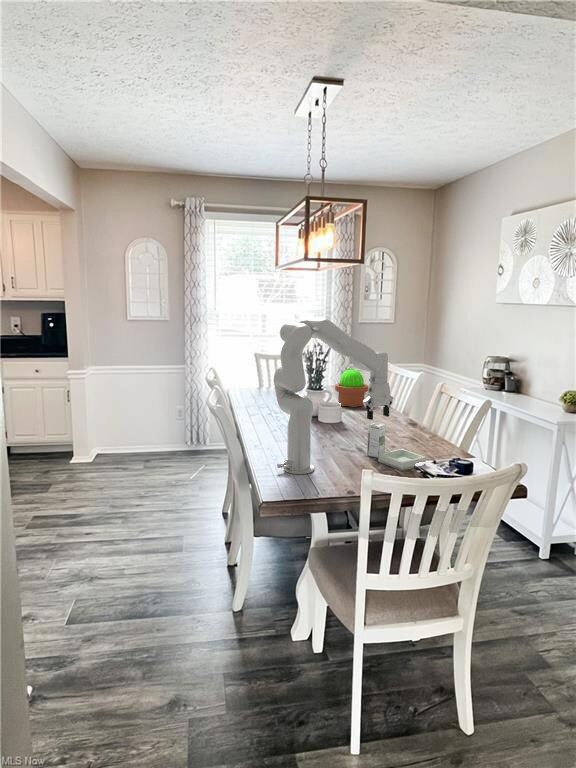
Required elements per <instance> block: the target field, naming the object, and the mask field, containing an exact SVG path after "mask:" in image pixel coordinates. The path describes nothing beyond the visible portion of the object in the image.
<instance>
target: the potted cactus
mask: <svg viewBox="0 0 576 768" xmlns="http://www.w3.org/2000/svg"><path fill="white" fill-rule="evenodd" d="M364 382H365V381H364V376H363V375H362V373H361V372H360V371H358V369H355V368H347V369H346V370H345V371H344V372H342V374H341V375H340V379H339V383H338V382H337V383H336V384H335V385H334V390H335V392H338V395H337V397H338V400H337V401H338V402H339V403H341V405H343V406H342V407H344V406H361V407H363V406H364V404H363V401H364V400H365V394H366V393H368V388H369V384H368V383H367V384H366V383H364ZM362 405H363V406H362Z"/></svg>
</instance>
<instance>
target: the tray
mask: <svg viewBox="0 0 576 768" xmlns="http://www.w3.org/2000/svg"><path fill="white" fill-rule="evenodd" d="M426 461H427V457H426V456H424V455H421V454H419V453H416V452H413V451H410V450H407V449H404V448H399V449H394V450H389V451H384V453H380V454H379V457H378V462H379V463H381V464H383V465H386V466H388V467H391V468H394V469H396V470H399V471H401V472H403V471H407V470H411V468H412V469H414V468H413V467H414V465H415V464H416V463H419V462H426ZM426 463H427V462H426Z"/></svg>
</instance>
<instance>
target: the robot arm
mask: <svg viewBox="0 0 576 768" xmlns="http://www.w3.org/2000/svg"><path fill="white" fill-rule="evenodd" d="M279 337H280V338H281V341H283V342H284V343H283V345H282V346H281V347H282V348H281V351H280V363H281V366H280V367H278V368H277V369H276V370H275V372H274V374H273V375H274V376H273V385H274V391H275V397H276V401H277V405H278V407H279V409H280V410H281V411H282V412H284V413H285V414H288V415H289V418H288V422H287V429H286V430H287V431H286V432H287V453H286V454H287V458H285V459H284V461H283V462H278V463H277V464H276V467H277V469H282V468H283V471H284V472H286V473H288V474H293V475H307V474H310V473H312V472H314V471H315V466H314V465H313V464H312V463H311V452H312V451H311V450H312V449H311V448H312V447H311V444H312V443H311V439H312V438H311V437H312V435H311V434H312V432H311V431H312V429H311V428H312V418H313V413H314V405H313V401H312V400H311V398H310V397H308V396H307V395H305V394H303V393H300V392H302V391H303V390H304V389H305V387H306V383H307V380H306V374H305V367H304V363H303V352H304V350H305V348H306V346H307V345H308V344H309V342H310V341H311V339H318V340H320V341H321V342H323V343H324V344H325V345H327V346H328V347H329V348H331V349H332V350H333V351H334V352H336V353H338V354H340V355H342V356H345V357H348V358H351V362H352V366H353V367H355V368H356V370H362V371H366V372H370V373H369V379H368V381H369V384H368V391H367V397H366V399H365V398H364V401H363V404H364V405H363V408H365V410H366V419H368V420H370V421H371V420H372V421H373V420H374V411H373V409H374V408H375V407H381V406H383V409H382V415H383V416H384V417H388V418H389V417H390V408H391V406H392V403H393V401H394V397H393V396H392V395H391V387H390V382H388V379H389V378H388V373H389V369H388V368H389V367H388V366H389V364H388V363H389V362H388V361H389V355H388V353H387V352H385V351H374V350H373V349H372V348H371V347H369V346H368V345H366V344H365V343H363V342H361V341H359V340H358V339H356V338H354V337H352V336H350V335H349V334H348V333H346V332H345V331H344V330H342V329H341V328H340V327H339V326H337V325H336V324H335V322H332V321H331V320H330V319H327V318H325V317H310V318H304V319H300V320H294V321H290V322H285V323H284V324H283V325H282V326H281V327H280V330H279Z"/></svg>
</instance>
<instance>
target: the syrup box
mask: <svg viewBox="0 0 576 768" xmlns="http://www.w3.org/2000/svg"><path fill="white" fill-rule="evenodd" d="M386 426H387V424H384V423H382V422H373V423H370V424H368V431H367V447H366V448H367V450H366V453H367V456H369V457H373V458H378V459H379V454H380V453H384V452H385V444H386V443H385V442H386Z"/></svg>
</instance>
